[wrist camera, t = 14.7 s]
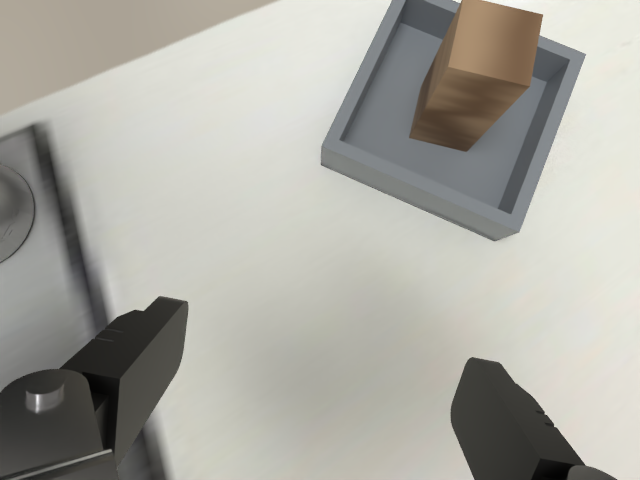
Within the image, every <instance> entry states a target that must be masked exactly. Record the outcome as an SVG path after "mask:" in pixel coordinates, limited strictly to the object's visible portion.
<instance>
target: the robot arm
mask: <svg viewBox="0 0 640 480" xmlns="http://www.w3.org/2000/svg"><path fill="white" fill-rule="evenodd" d="M33 216H34V202H33V197H32V193H31V191H30V189H29V187H28V185H27V183H26V182H25V181H24V179H23V178H22V177H21V176H20V175H19V174H18V173H16V172H15V171H14V170H12V169H10V168H8V167H6V166H4V165H2V164H0V262H1V261H3V260H4V259H6V258H8V257H9V256H10V255H11V254H12V253H13V252H14V251H16V250H17V249H18V248H19V246H20V245H21V244H22V242H23V241H24V239H25V238H26V236H27V234H28V232H29V230H30V228H31V224H32V220H33ZM187 317H188V302H187V301H183V300H178V299H173V298H168V297H162V296H159V297H158V298H157V299H156V300H155V301H154V302H153V303H152V304H151V305H150V306H149V307H148V308H147V309H146V310H145V311H139V310H133V311H131V312H129V313H126V314H124V315H121V316H119V317H117V318H116V319H115V320H114V321H112V322H111V323H110V324H109V325H108V326H107V327H106V328H105V330H102V331H101V332H100V333H99V334H98V335H97V336H96V337H95V339H92V340H91V341H90V342H89V343H88V344H86V345H85V346H84V347H83V348H82V349H81V350H80V351H79V352H77V353H76V354H75V355H74V356H73V357H72V358H71V359H70V360H68V361H67V362H66V363H65V364H64V365H63V366H62V367H61V368H59V369H48V370H42V371H37V372H33V373H30V374H27V375H25V376H22V377H20V378H18V379H16V380H14V381H13V382H11V383H10V384H8V385H7V386H6V387H5V388H4V389H3V390H2V391H1V392H0V480H120V479H119V475H118V471H117V467H118V466H119V464H120V462H121V461H122V459H123V458H124V456H125V454H126V453H127V451H128V450H129V448H130V446H131V445H132V443H133V442H134V440H135V438H136V437H137V435H138V434H139V432H140V430H141V429H142V427H143V426H144V424H145V422H146V421H147V419H148V418H149V416H150V414H151V413H152V411H153V410H154V408H155V406H156V405H157V403H158V402H159V400H160V398H161V397H162V395H163V394H164V392H165V390H166V389H167V387H168V386H169V384H170V382H171V381H172V379H173V378H174V376H175V374H176V373H177V371H178V368H179V366H180V363H181V359H182V355H183V349H184V341H185V333H186V325H187ZM544 413H545V412H544V411H543V409H542V408H541V407H540V405H539V404H538V403H537V402H536V400H535V399H534V398H533V397H532V396H531V395H530V394H529V393H527V392H526V391H525V390H524V389H522V388H521V387H520V386H519V385H518V384H515V382H514V381H513V380H512V378H511V377H510V376H509V374H508V373H507V371H506V370H505V369H504V367H503V366H502V365H501V364H500V363H499V362H494V361H489V360H484V359H479V358H474V357H471V358H470V359H469V360H468V361H467V363H466V365H465V367H464V370H463V373H462V376H461V379H460V382H459V385H458V387H457V390H456V393H455V396H454V399H453V402H452V406H451V423H452V427H453V429H454V432H455V434H456V436H457V439H458V441H459V444H460V446H461V448H462V451H463V453H464V456H465V458H466V460H467V463H468V465H469V467H470V470H471V472H472V475H473V477H474V479H475V480H617V479H615V478H614V477H612V476H610V475H609V474H607V473H605V472H603V471H600V470H598V469H596V468H592V467H589V466H586V465H585V464H584V463H583V461H582V460H581V459H580V457H579V456H578V455H577V454H576V452H575V451H574V450H573V448H572V447H571V446H570V444H569V443H568V442H567V441H566V439H565V438H564V437H563V435H562V434H561V433H560V431H559V430H558V429H557V428H556V427H554V424H553V422H552V421H551V420H550V418H549V417H548V416H547V415H545V414H544Z"/></svg>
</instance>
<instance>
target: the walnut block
mask: <svg viewBox="0 0 640 480" xmlns="http://www.w3.org/2000/svg"><path fill="white" fill-rule="evenodd" d="M542 17H543V15H542V14H538V13H534V12H529V11H525V10H521V9H517V8H512V7H508V6H504V5H499V4H495V3H491V2H487V1H482V0H462V1H461V3H460V5H459V7H458V9H457V12H456V14H455V16H454V18H453V20H452V22H451V24H450V26H449V28H448V30H447V33H446V35H445V37H444V39H443V41H442V43H441V45H440V47H439V49H438V51H437V54H436V56H435V58H434V60H433V62H432V64H431V66H430V68H429V70H428V73H427V75H426V77H425V79H424V81H423V83H422V85H421V89H420V93H419V97H418V101H417V106H416V110H415V114H414V118H413V123H412V127H411V131H410V136H409V138H411V139H415V140H419V141H423V142H427V143H432V144H436V145H440V146H444V147H448V148H452V149H456V150H460V151H464V152H467V151H468V150H469V149H470V148H471V147H472V146H473V145H474V144H475V143H476V142H477V141H478V140H479V139H480V137H481V136H482V135H483V134H484V133H485V132H486V131H487V130H488V129H489V128H490V127H491V126H492V125H493V124H494V123H495V122H496V121H497V120H498V119H499V118H500V117H501V116H502V115H503V114H504V113H505V112H506V111H507V110H508V109H509V108H510V107H511V105H512V104H513V103H514V102H515V101H516V100H517V99H518V98H519V97H520V96H521V95H522V94H523V93H524V92H525V91H526V90H527V89H528V88H529V87H530V84H531V78H532V73H533V67H534V62H535V56H536V51H537V45H538V39H539V34H540V28H541V23H542Z"/></svg>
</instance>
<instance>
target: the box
mask: <svg viewBox="0 0 640 480" xmlns="http://www.w3.org/2000/svg"><path fill="white" fill-rule="evenodd" d="M459 5H460V3H458V2H455V1H453V0H392V2H391V4H390V6H389V8H388V10H387V12H386V14H385V16H384V18H383V20H382V22H381V25H380V27H379V29H378V31H377V33H376V35H375V37H374V39H373V41H372V43H371V45H370V47H369V49H368V51H367V53H366V55H365V58H364V60H363V62H362V64H361V66H360V68H359V70H358V72H357V74H356V76H355V78H354V80H353V82H352V84H351V86H350V89H349V91H348V93H347V95H346V97H345V99H344V101H343V103H342V105H341V107H340V109H339V111H338V113H337V115H336V117H335V119H334V122H333V124H332V126H331V128H330V130H329V132H328V134H327V136H326V138H325V140H324V142H323V144H322V150H321V165H322V166H325V167H327V168H329V169H331V170H334V171H336V172H338V173H341V174H343V175H345V176H347V177H350V178H352V179H354V180H356V181H359V182H361V183H363V184H366V185H368V186H370V187H372V188H375V189H377V190H379V191H381V192H384V193H386V194H388V195H391V196H393V197H395V198H397V199H400V200H402V201H404V202H407V203H409V204H411V205H413V206H416V207H418V208H420V209H422V210H425V211H427V212H429V213H432V214H434V215H436V216H438V217H441V218H443V219H445V220H447V221H450V222H452V223H454V224H457V225H459V226H461V227H463V228H466V229H468V230H470V231H473V232H475V233H477V234H479V235H482V236H484V237H486V238H488V239H491V240H493V241H497V240H500V239H502V238H505V237H508V236H510V235H513V234H516V233H518V232H520V229H521V226H522V224H523V221H524V218H525V216H526V213H527V210H528V208H529V205H530V202H531V200H532V197H533V194H534V192H535V189H536V186H537V184H538V181H539V178H540V176H541V173H542V170H543V168H544V165H545V162H546V160H547V157H548V154H549V152H550V149H551V146H552V144H553V141H554V138H555V136H556V133H557V130H558V128H559V125H560V122H561V120H562V117H563V114H564V112H565V109H566V106H567V104H568V101H569V98H570V96H571V93H572V90H573V88H574V85H575V82H576V80H577V77H578V74H579V72H580V69H581V66H582V64H583V61H584V58H585V56H586V54H584V53H582V52H579V51H577V50H574V49H572V48H570V47H567V46H565V45H562V44H560V43H557V42H555V41H552V40H550V39H547V38H545V37H542V36H540V35H539V39H538V45H537V51H536V56H535V62H534V67H533V73H532V78H531V84H530V87H529V88H528V89H527V90H526V91H525V92H524V93H523V94H522V95H521V96H520V97H519V98H518V99H517V100H516V101H515V102H514V103H513V104H512V105H511V107H510V108H509V109H508V110H507V111H506V112H505V113H504V114H503V115H502V116H501V117H500V118H499V119H498V120H497V121H496V122H495V123H494V124H493V125H492V126H491V127H490V128H489V129H488V130H487V131H486V132H485V133H484V134H483V135H482V136H481V137H480V139H479V140H478V141H477V142H476V143H475V144H474V145H473V146H472V147H471V148H470V149H469V150H468V151H467V152H464V151H460V150H456V149H452V148H448V147H444V146H440V145H436V144H432V143H427V142H423V141H419V140H415V139H411V138H409V136H410V131H411V127H412V123H413V118H414V114H415V110H416V106H417V101H418V97H419V93H420V89H421V85H422V83H423V81H424V79H425V77H426V75H427V73H428V70H429V68H430V66H431V64H432V62H433V60H434V58H435V56H436V54H437V51H438V49H439V47H440V45H441V43H442V41H443V39H444V37H445V35H446V33H447V30H448V28H449V26H450V24H451V22H452V20H453V18H454V16H455V14H456V12H457V9H458V7H459Z"/></svg>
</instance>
